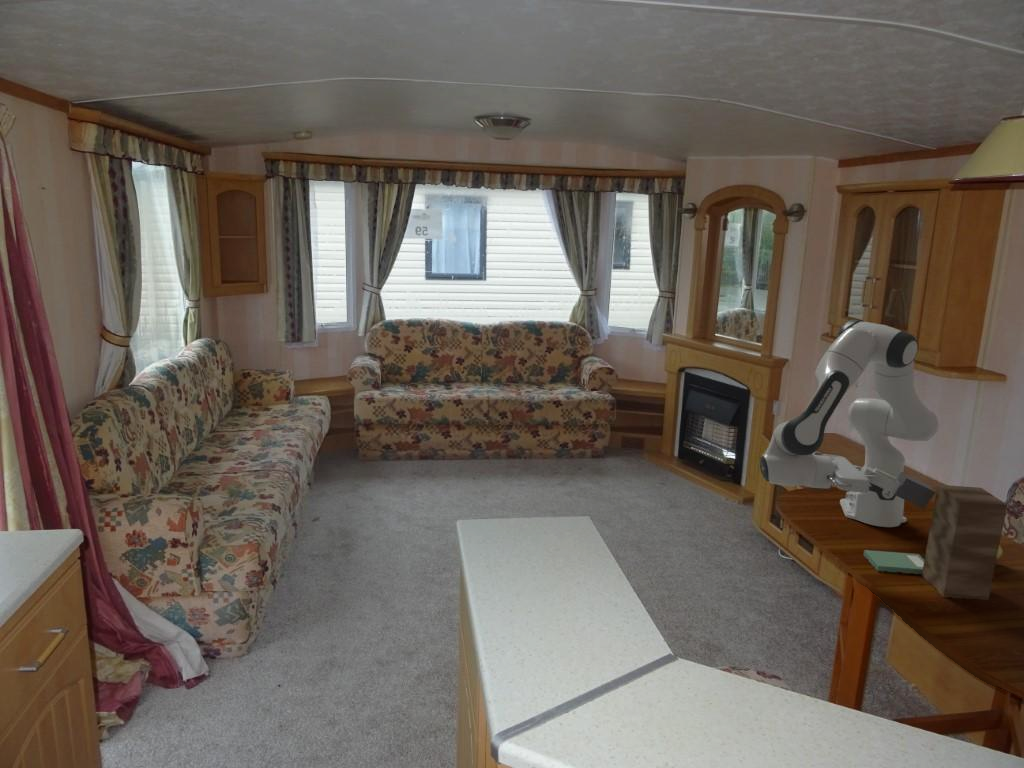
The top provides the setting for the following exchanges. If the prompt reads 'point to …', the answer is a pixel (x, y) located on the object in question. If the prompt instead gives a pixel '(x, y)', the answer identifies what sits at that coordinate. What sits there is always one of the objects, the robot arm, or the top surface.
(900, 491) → the plug
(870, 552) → the board
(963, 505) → the block
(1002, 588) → the top surface
